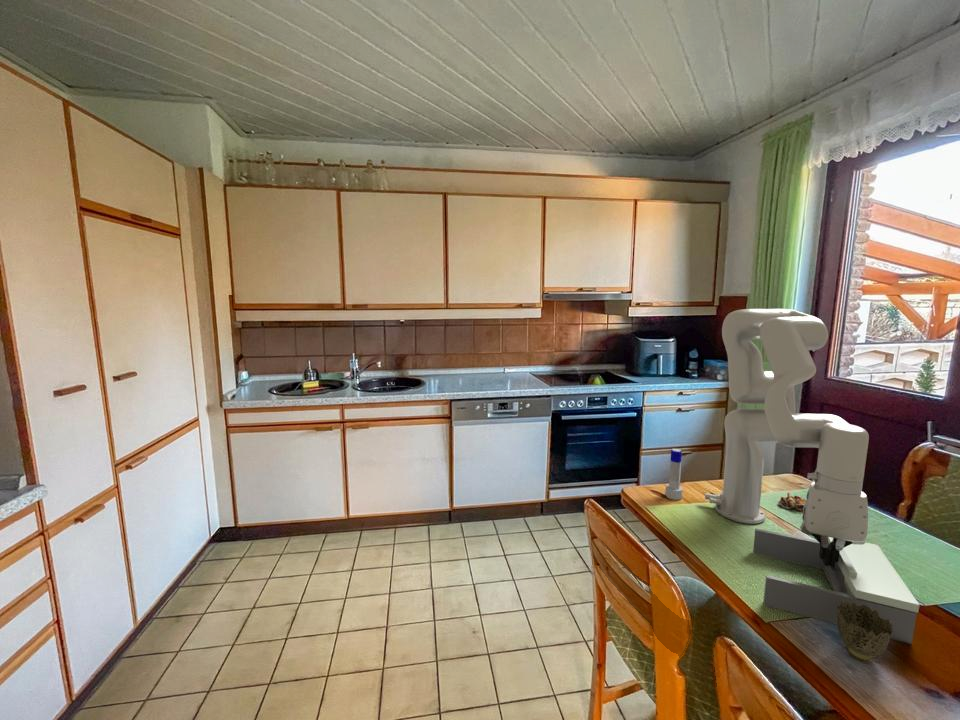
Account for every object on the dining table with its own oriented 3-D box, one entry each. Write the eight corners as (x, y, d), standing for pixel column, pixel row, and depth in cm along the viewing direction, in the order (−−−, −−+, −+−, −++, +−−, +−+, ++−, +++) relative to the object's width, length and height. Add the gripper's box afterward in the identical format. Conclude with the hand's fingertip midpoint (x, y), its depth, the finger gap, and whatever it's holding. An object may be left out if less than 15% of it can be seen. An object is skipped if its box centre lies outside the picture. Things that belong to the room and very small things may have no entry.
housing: (763, 604, 90) (766, 577, 89) (753, 551, 108) (755, 528, 107) (911, 644, 79) (916, 613, 78) (871, 577, 98) (875, 552, 97)
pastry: (813, 503, 134) (814, 492, 133) (803, 516, 126) (805, 505, 125) (786, 495, 139) (787, 485, 138) (775, 507, 131) (777, 496, 130)
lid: (854, 597, 82) (856, 585, 82) (826, 541, 101) (827, 531, 100) (918, 612, 78) (920, 599, 78) (876, 551, 97) (878, 540, 96)
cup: (821, 640, 80) (826, 602, 79) (857, 637, 81) (863, 599, 80) (859, 675, 73) (865, 633, 72) (899, 672, 74) (905, 630, 72)
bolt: (683, 501, 135) (666, 499, 136) (680, 494, 139) (664, 492, 141) (686, 453, 132) (669, 452, 134) (683, 448, 137) (666, 446, 138)
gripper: (797, 482, 90) (788, 563, 93) (892, 497, 83) (879, 583, 86) (791, 469, 96) (783, 545, 99) (878, 482, 89) (867, 563, 92)
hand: (827, 562), depth 92 cm, fingers closed
